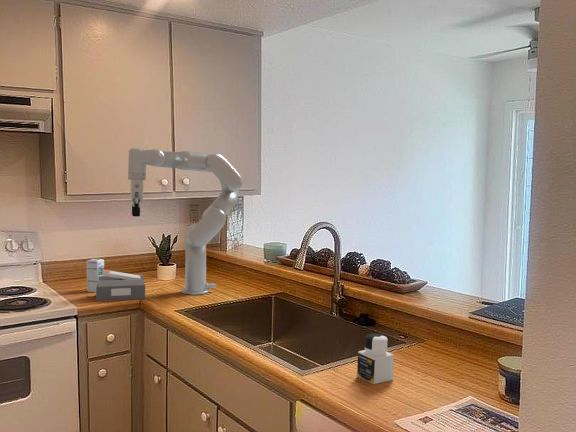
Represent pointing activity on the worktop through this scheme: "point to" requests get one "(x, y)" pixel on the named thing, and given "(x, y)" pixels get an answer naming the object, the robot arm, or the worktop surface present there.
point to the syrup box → (94, 273)
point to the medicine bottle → (375, 360)
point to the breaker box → (119, 289)
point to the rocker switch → (120, 275)
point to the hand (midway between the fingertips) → (135, 215)
